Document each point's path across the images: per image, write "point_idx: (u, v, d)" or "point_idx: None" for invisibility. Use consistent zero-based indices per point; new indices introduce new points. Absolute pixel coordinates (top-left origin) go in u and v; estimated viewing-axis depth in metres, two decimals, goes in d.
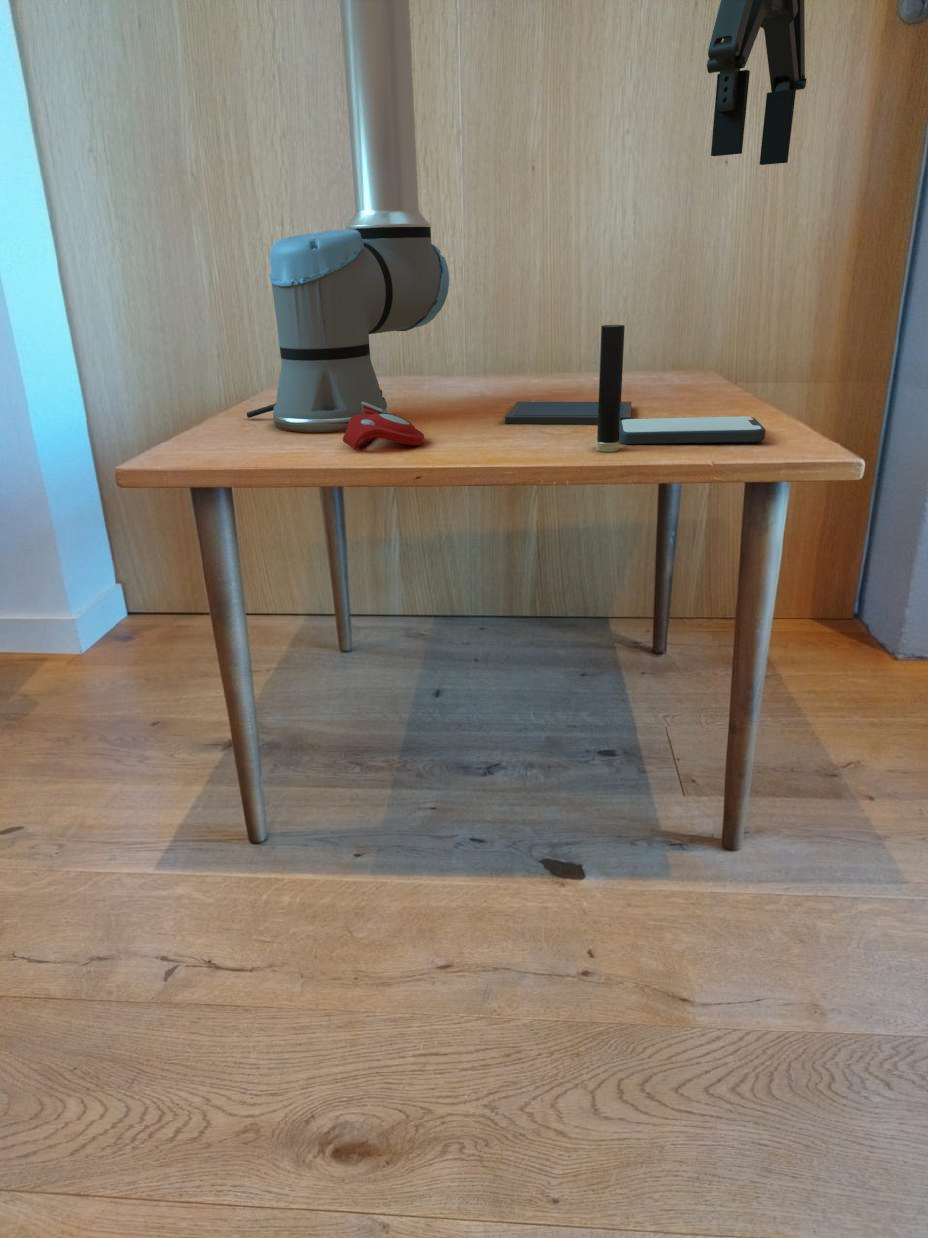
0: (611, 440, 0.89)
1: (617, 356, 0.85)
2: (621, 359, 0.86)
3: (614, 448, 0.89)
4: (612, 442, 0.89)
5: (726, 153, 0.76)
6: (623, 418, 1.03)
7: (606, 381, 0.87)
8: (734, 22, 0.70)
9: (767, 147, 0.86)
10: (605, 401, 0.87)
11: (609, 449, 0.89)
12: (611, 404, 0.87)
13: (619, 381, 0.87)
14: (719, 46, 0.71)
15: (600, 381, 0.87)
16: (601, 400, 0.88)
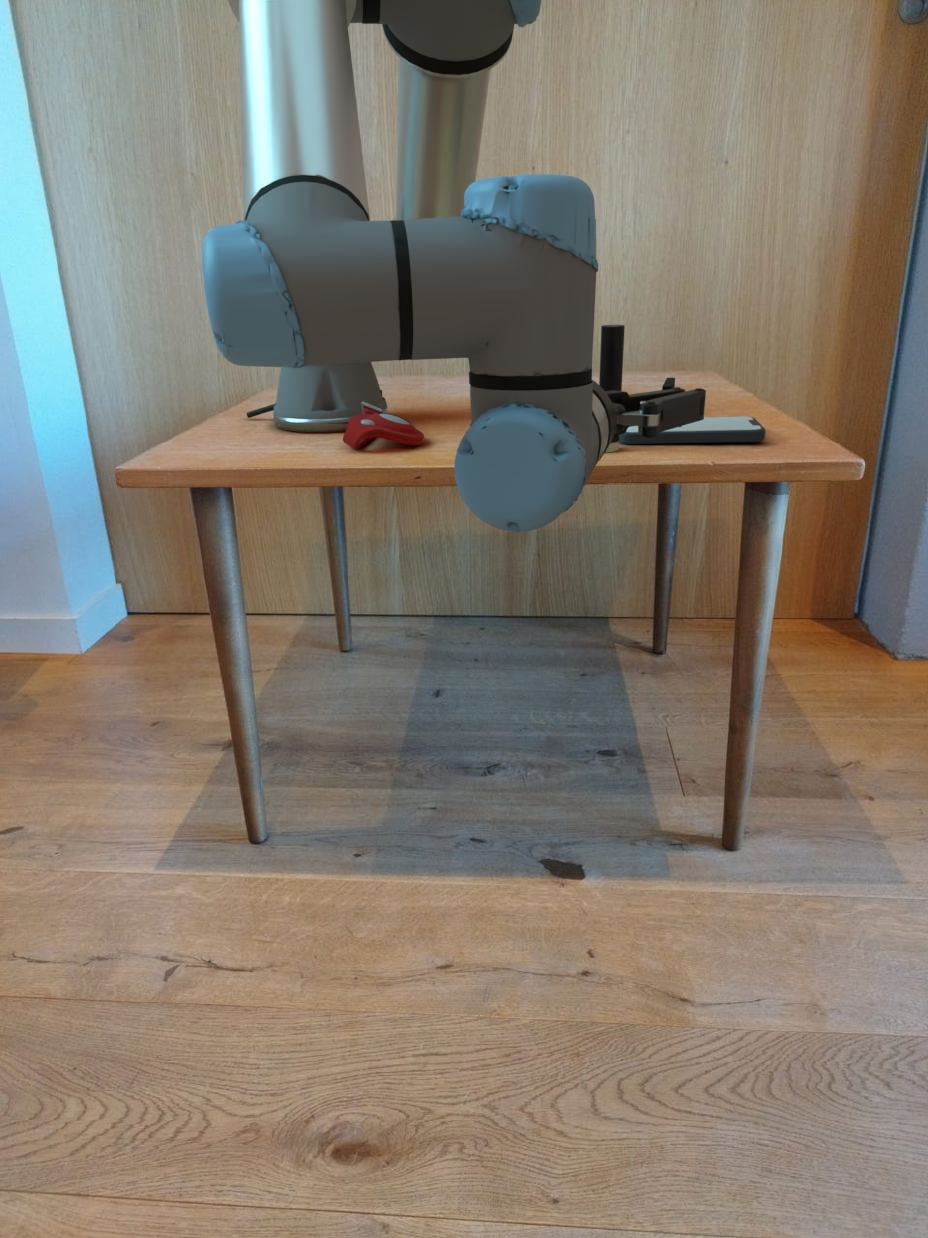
0: None
1: (617, 356, 0.85)
2: (621, 359, 0.86)
3: (614, 448, 0.89)
4: (612, 442, 0.89)
5: None
6: None
7: (606, 381, 0.87)
8: None
9: None
10: None
11: (609, 449, 0.89)
12: None
13: (619, 381, 0.87)
14: None
15: (600, 381, 0.87)
16: None
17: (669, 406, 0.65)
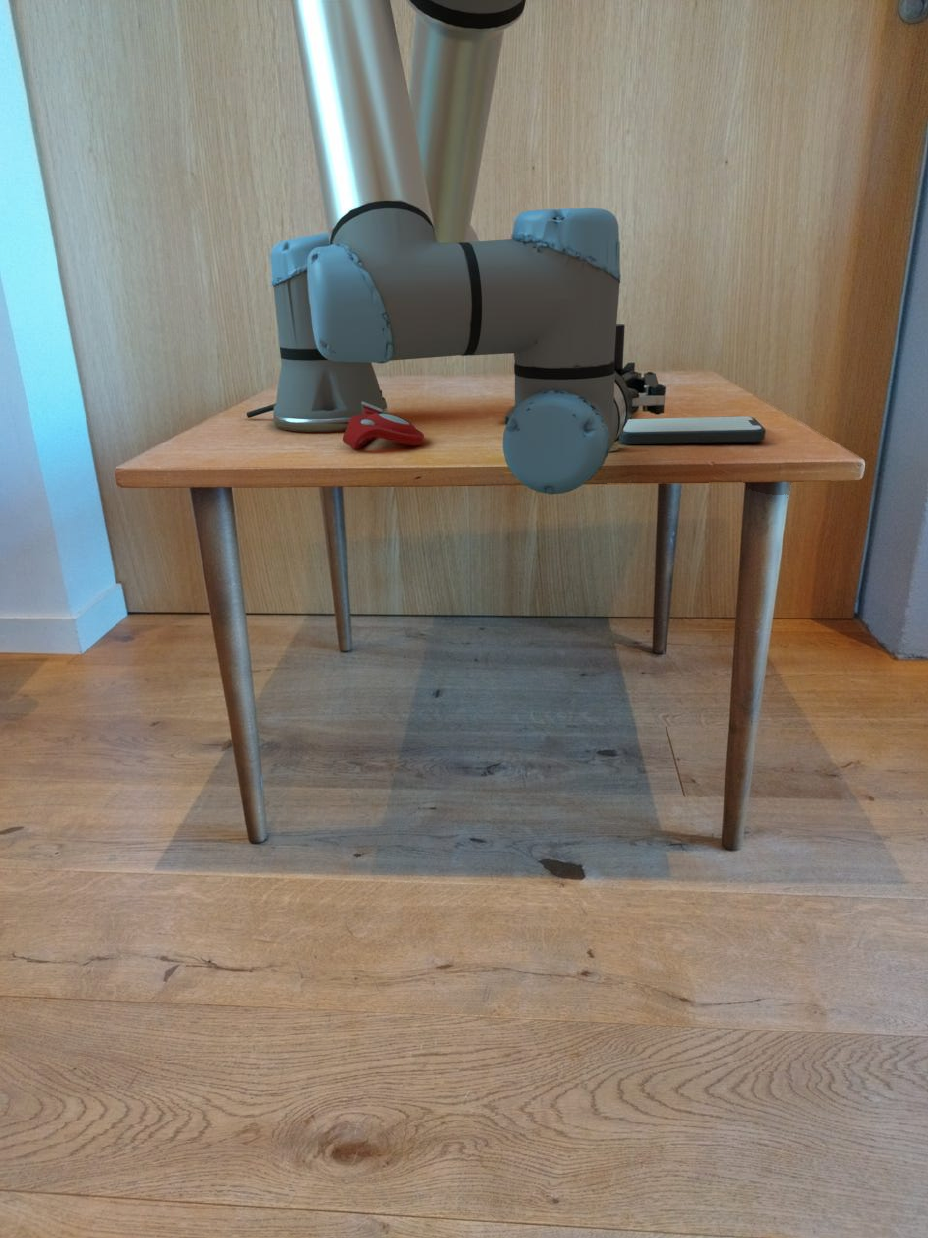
0: None
1: (617, 356, 0.85)
2: (621, 358, 0.86)
3: (614, 447, 0.89)
4: None
5: None
6: None
7: None
8: None
9: None
10: None
11: None
12: None
13: None
14: None
15: None
16: None
17: None
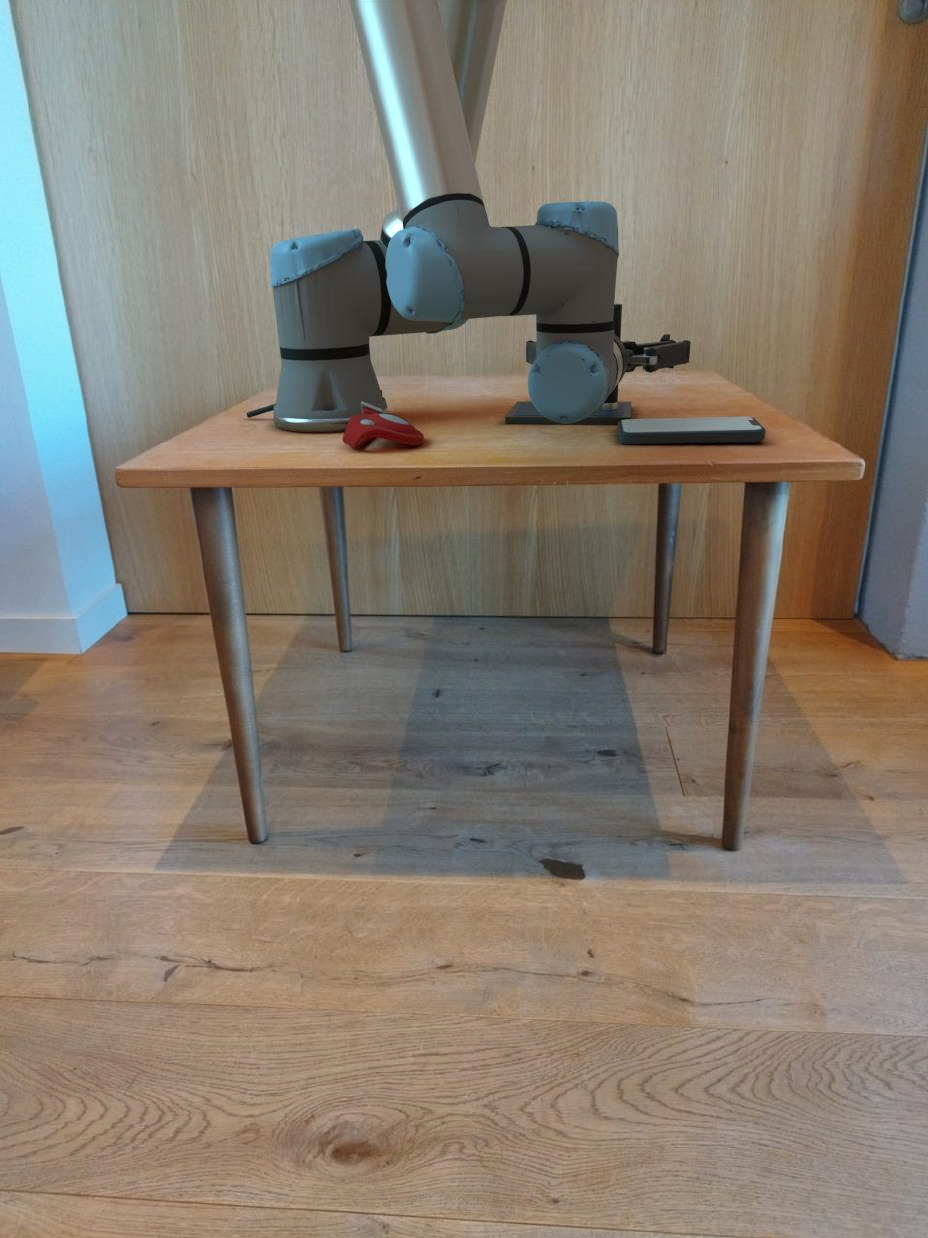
0: (612, 401, 1.06)
1: (617, 330, 1.03)
2: (620, 332, 1.04)
3: (615, 407, 1.07)
4: (613, 402, 1.07)
5: None
6: (623, 418, 1.03)
7: None
8: (529, 358, 1.03)
9: None
10: None
11: (611, 408, 1.07)
12: None
13: None
14: (526, 349, 1.04)
15: None
16: None
17: (664, 351, 0.94)
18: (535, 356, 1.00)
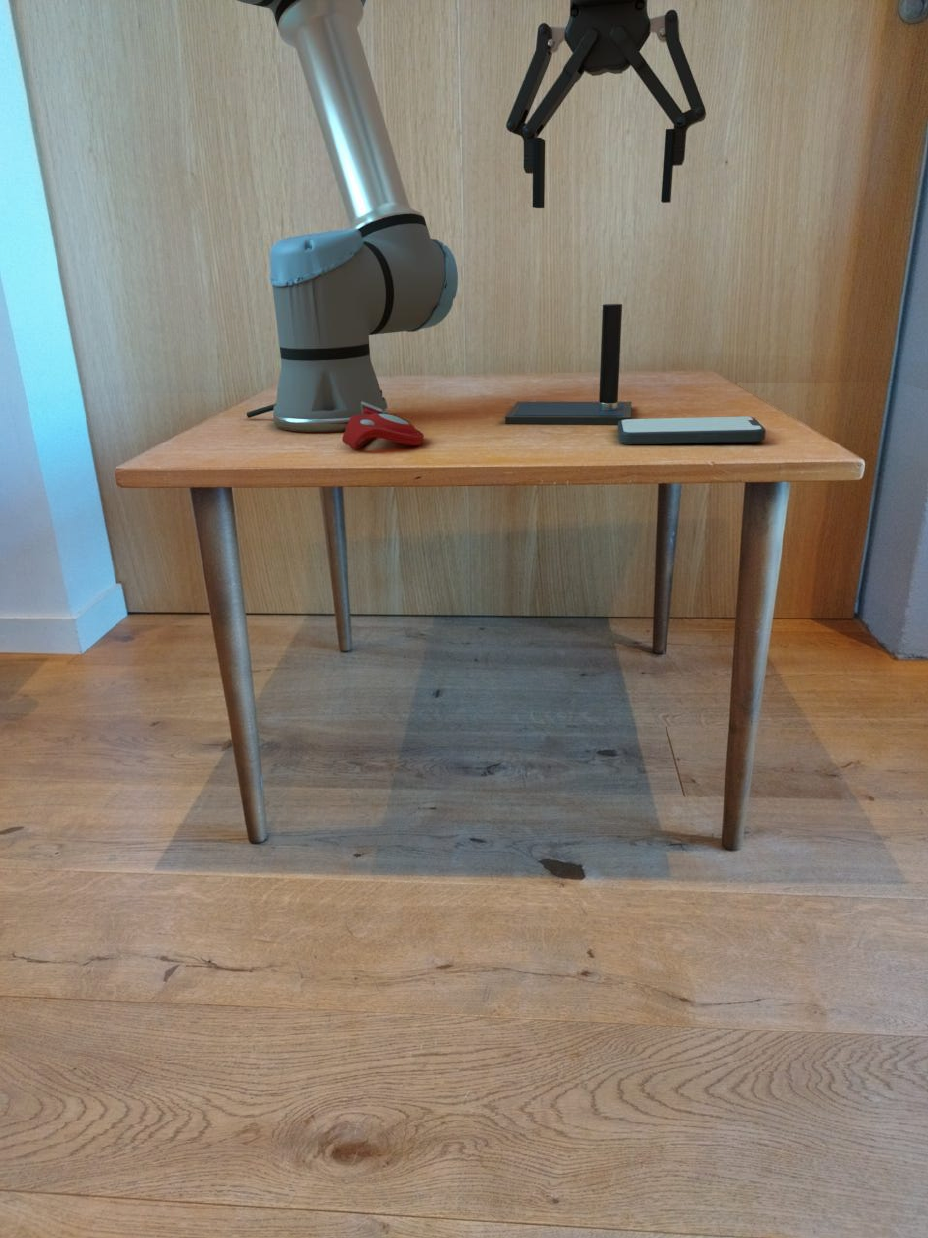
0: (612, 401, 1.06)
1: (617, 330, 1.03)
2: (620, 332, 1.04)
3: (615, 407, 1.07)
4: (613, 402, 1.07)
5: (535, 207, 0.89)
6: (623, 418, 1.03)
7: (608, 351, 1.04)
8: None
9: None
10: (608, 367, 1.05)
11: (611, 408, 1.07)
12: (612, 370, 1.05)
13: (618, 351, 1.04)
14: None
15: (602, 351, 1.05)
16: (604, 367, 1.05)
17: None
18: None
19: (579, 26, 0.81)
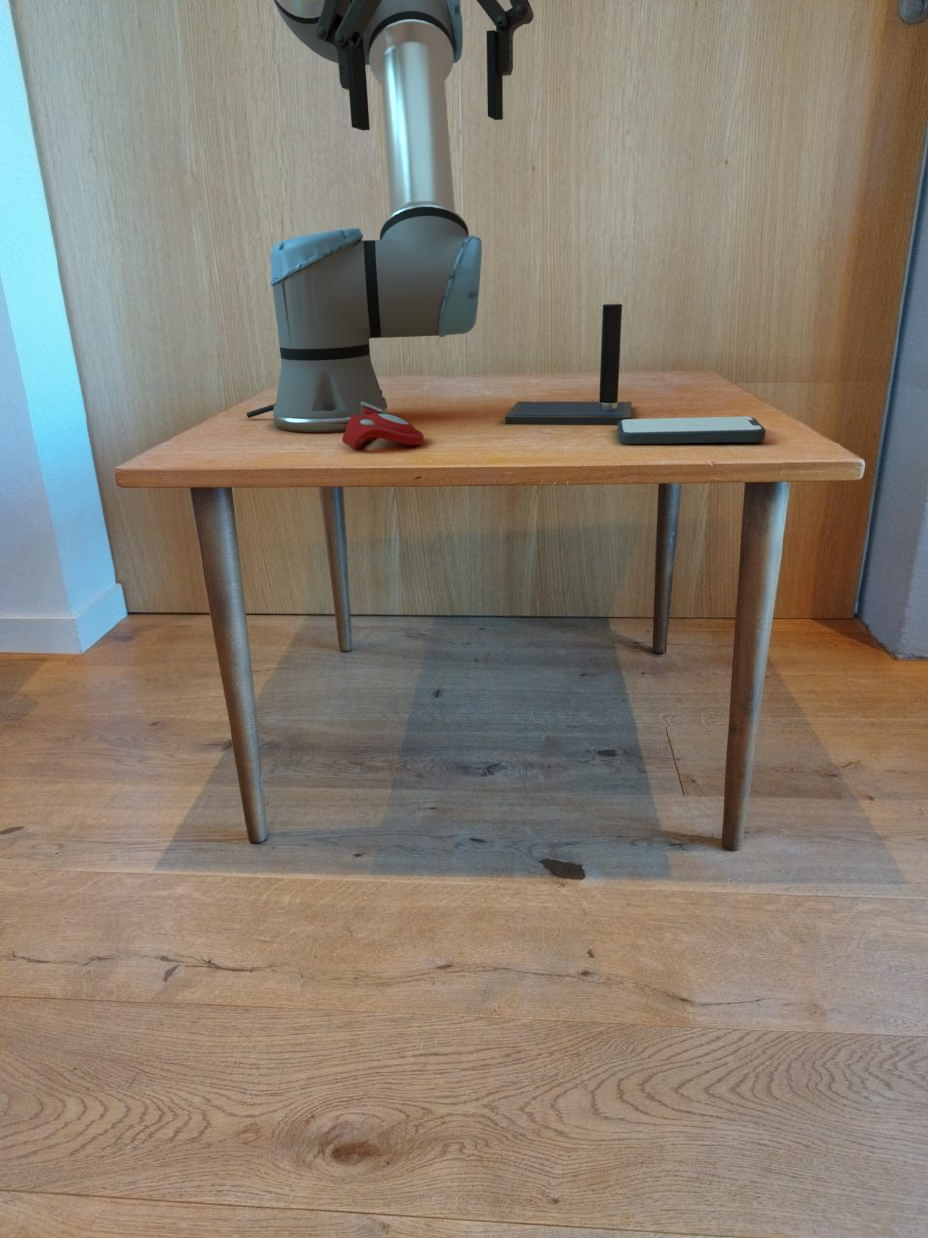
0: (612, 401, 1.06)
1: (617, 330, 1.03)
2: (620, 332, 1.04)
3: (615, 407, 1.07)
4: (613, 402, 1.07)
5: (357, 127, 0.80)
6: (623, 418, 1.03)
7: (608, 351, 1.04)
8: None
9: None
10: (608, 367, 1.05)
11: (611, 408, 1.07)
12: (612, 370, 1.05)
13: (618, 351, 1.04)
14: None
15: (602, 351, 1.05)
16: (604, 367, 1.05)
17: None
18: None
19: None
